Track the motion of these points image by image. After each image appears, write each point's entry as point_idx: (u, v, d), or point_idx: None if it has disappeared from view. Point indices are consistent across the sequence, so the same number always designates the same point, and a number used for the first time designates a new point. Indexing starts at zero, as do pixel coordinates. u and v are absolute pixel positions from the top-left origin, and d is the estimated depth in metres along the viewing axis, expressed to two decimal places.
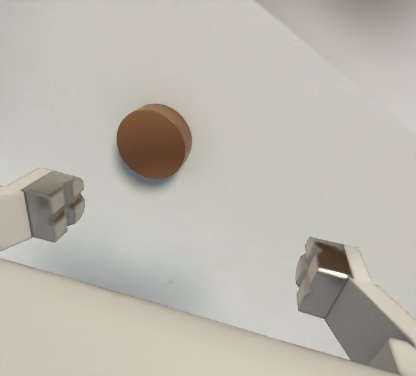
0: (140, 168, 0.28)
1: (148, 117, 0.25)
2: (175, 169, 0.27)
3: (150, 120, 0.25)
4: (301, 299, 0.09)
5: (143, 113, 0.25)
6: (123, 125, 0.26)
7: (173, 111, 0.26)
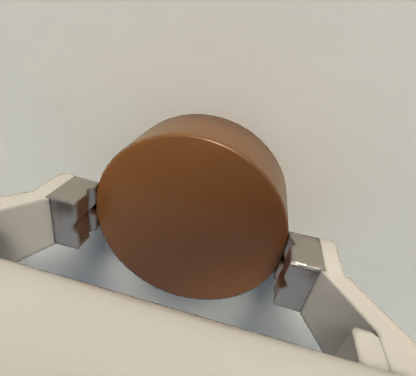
0: (175, 283, 0.11)
1: (162, 158, 0.09)
2: (266, 272, 0.10)
3: (170, 164, 0.09)
4: (276, 292, 0.09)
5: (146, 150, 0.09)
6: (105, 194, 0.10)
7: (224, 122, 0.10)
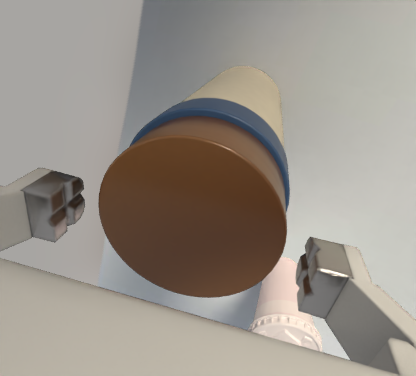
0: (176, 281, 0.11)
1: (163, 159, 0.09)
2: (265, 271, 0.10)
3: (171, 165, 0.09)
4: (301, 299, 0.09)
5: (148, 151, 0.09)
6: (107, 194, 0.10)
7: (224, 124, 0.10)
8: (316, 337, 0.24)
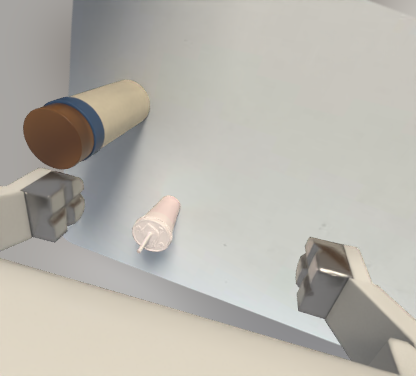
0: (53, 162, 0.31)
1: (39, 115, 0.29)
2: (79, 154, 0.30)
3: (42, 117, 0.29)
4: (301, 299, 0.09)
5: (35, 113, 0.29)
6: (25, 128, 0.30)
7: (64, 105, 0.30)
8: (164, 226, 0.44)
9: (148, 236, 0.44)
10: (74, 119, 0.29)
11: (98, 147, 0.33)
